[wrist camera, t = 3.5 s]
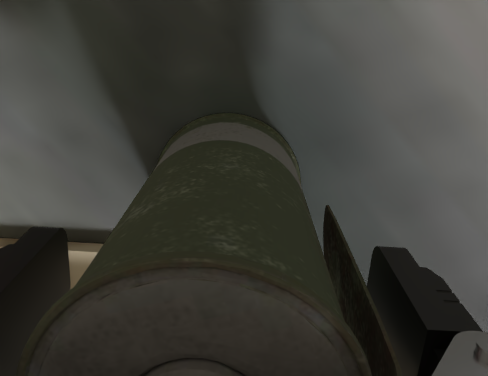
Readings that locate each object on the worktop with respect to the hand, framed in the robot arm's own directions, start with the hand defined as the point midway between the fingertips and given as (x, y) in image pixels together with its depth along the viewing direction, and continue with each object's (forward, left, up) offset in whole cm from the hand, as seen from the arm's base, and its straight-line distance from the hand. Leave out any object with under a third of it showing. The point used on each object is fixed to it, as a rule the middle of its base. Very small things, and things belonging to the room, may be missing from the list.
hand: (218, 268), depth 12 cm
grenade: (0, 0, -8) cm, 8 cm away
